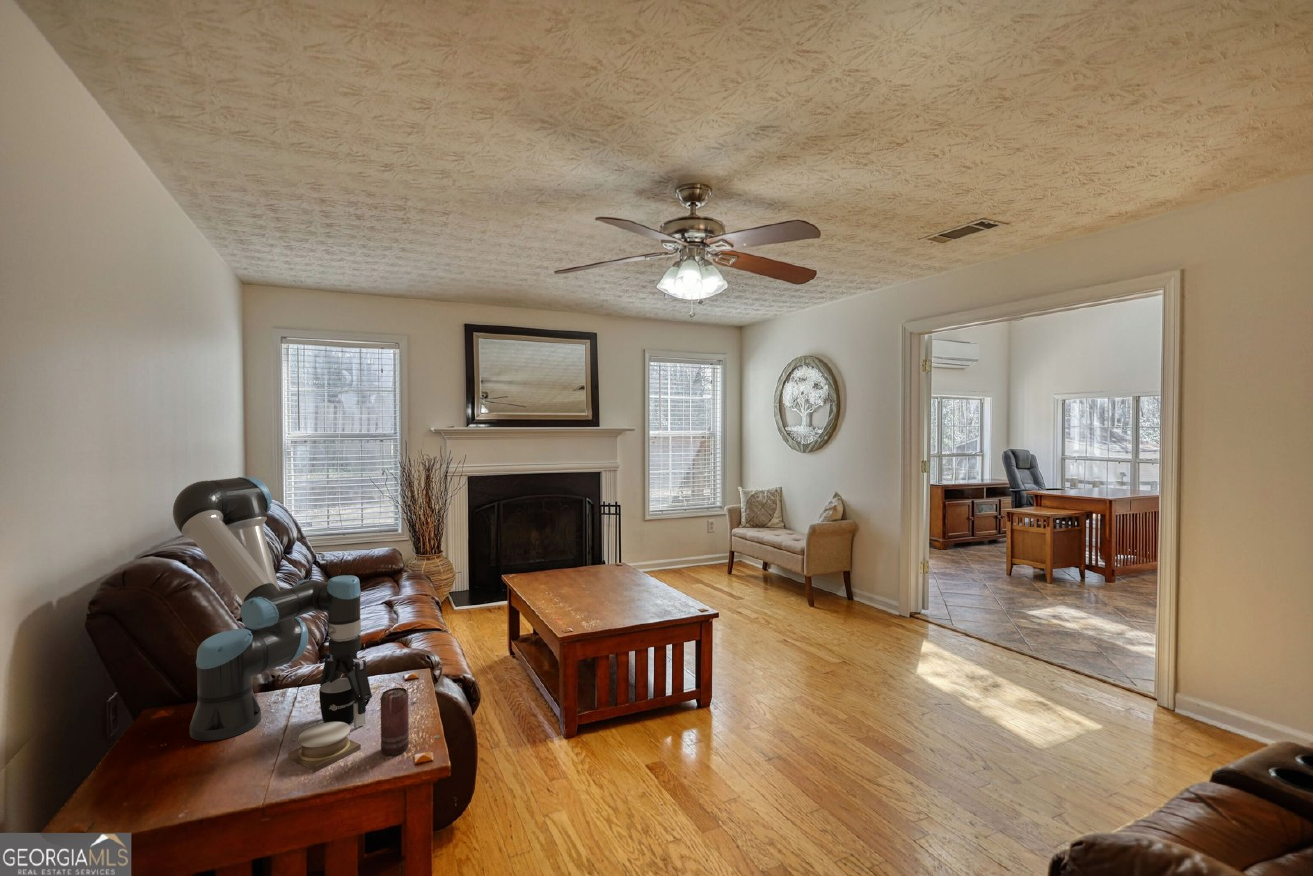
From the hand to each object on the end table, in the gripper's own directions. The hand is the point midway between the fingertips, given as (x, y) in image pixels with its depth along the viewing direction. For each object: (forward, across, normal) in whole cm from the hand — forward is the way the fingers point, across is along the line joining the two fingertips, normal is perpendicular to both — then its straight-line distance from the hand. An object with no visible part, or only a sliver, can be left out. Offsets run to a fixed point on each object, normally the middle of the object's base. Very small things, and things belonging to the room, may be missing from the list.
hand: (345, 720), depth 163 cm
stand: (+1, +10, -12) cm, 16 cm away
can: (+1, +23, -3) cm, 23 cm away
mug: (+1, 0, 0) cm, 1 cm away
